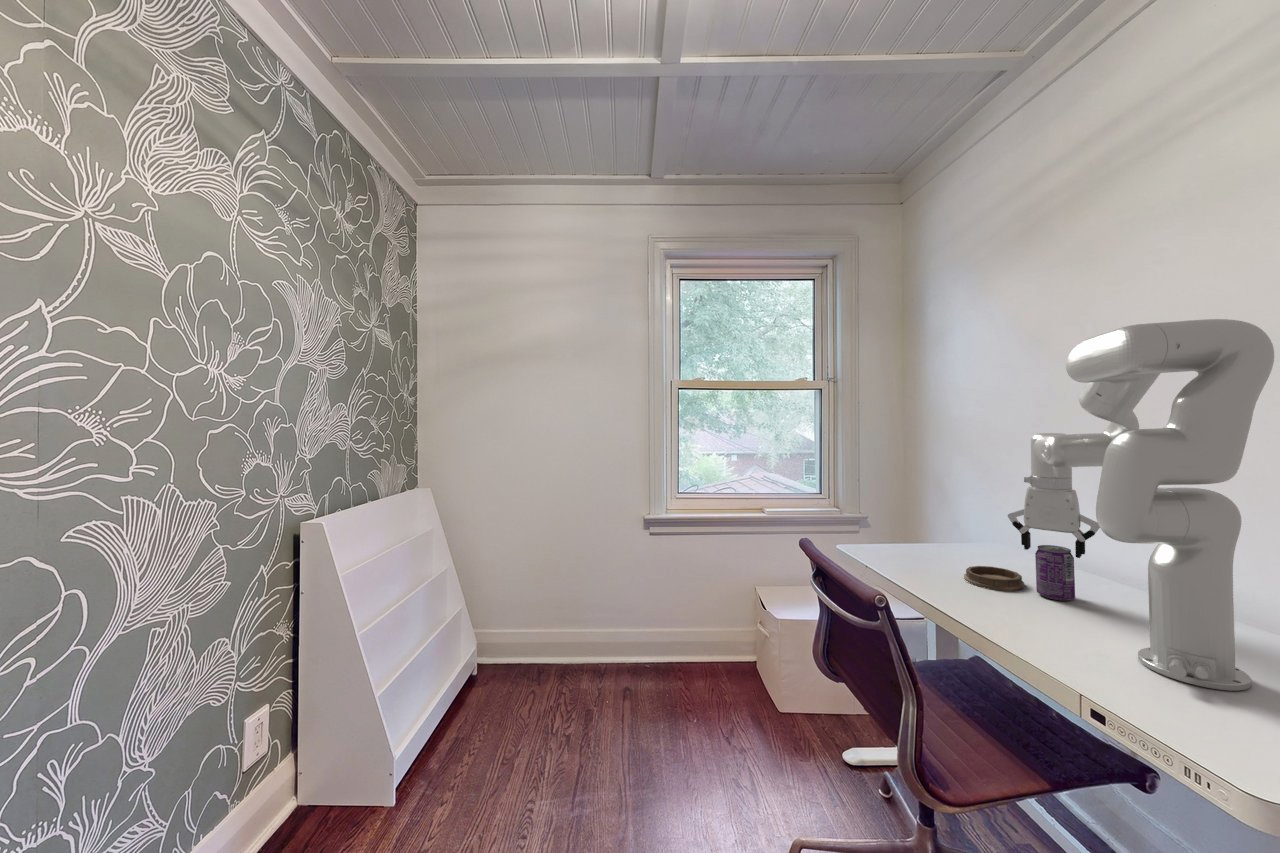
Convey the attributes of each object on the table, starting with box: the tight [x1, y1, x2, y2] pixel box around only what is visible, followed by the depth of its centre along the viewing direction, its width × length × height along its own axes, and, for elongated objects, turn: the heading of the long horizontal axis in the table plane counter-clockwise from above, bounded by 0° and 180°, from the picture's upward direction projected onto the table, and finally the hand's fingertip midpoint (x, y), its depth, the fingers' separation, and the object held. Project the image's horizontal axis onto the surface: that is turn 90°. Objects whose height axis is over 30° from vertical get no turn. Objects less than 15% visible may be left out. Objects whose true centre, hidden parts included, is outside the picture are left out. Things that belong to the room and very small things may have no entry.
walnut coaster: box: [963, 565, 1025, 592], centre depth 126 cm, size 13×13×3 cm
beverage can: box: [1034, 544, 1076, 602], centre depth 115 cm, size 7×7×12 cm
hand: (1052, 552), depth 115 cm, fingers open, 9 cm apart
